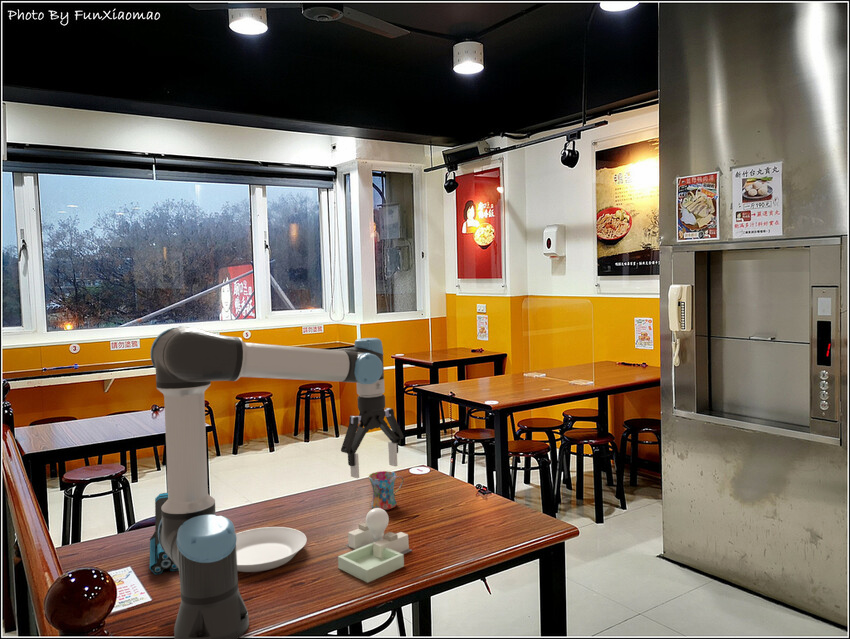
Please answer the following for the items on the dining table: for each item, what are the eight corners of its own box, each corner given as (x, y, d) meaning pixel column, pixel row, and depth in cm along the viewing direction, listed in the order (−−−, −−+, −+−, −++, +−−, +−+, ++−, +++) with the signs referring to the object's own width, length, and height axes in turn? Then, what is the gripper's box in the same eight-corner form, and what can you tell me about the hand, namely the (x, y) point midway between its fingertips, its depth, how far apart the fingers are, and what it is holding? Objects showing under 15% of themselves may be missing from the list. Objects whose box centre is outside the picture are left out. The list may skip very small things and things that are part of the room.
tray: (367, 582, 154) (366, 570, 154) (338, 568, 163) (337, 556, 162) (404, 566, 162) (403, 554, 162) (374, 553, 171) (374, 542, 171)
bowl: (209, 585, 156) (208, 571, 156) (215, 546, 180) (214, 534, 180) (311, 569, 163) (310, 556, 163) (303, 534, 187) (302, 522, 187)
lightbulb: (386, 552, 171) (384, 513, 170) (364, 551, 172) (362, 512, 171) (392, 543, 177) (390, 504, 176) (370, 542, 178) (368, 504, 178)
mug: (376, 514, 200) (375, 481, 199) (365, 505, 208) (364, 474, 208) (410, 507, 206) (409, 474, 205) (398, 498, 214) (397, 468, 213)
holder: (384, 565, 165) (383, 543, 165) (345, 547, 177) (344, 526, 177) (412, 553, 172) (411, 531, 171) (373, 536, 184) (372, 516, 184)
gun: (151, 597, 164) (147, 549, 160) (152, 536, 187) (148, 492, 183) (184, 590, 167) (181, 543, 163) (180, 531, 190) (177, 488, 186)
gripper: (342, 403, 161) (346, 485, 162) (413, 389, 178) (417, 463, 179) (325, 400, 166) (329, 479, 167) (396, 386, 184) (399, 458, 185)
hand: (374, 471), depth 173 cm, fingers open, 13 cm apart
